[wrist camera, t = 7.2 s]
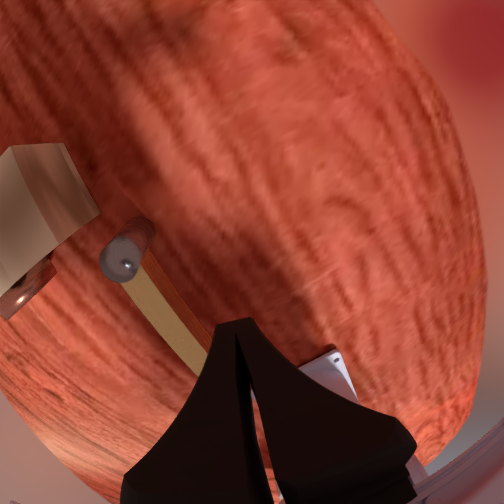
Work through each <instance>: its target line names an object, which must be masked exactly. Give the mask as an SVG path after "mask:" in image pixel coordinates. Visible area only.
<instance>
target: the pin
mask: <svg viewBox="0 0 504 504" xmlns="http://www.w3.org/2000/svg"><path fill="white" fill-rule="evenodd" d="M56 273H57V270H56V269H55V267H54V266H53V264H52V263H51V261H50V260H49V258H48V256H47V255H46V256H45V257H44V258H43V259H41V260H40V261H39V262H38V263H37V264H35V265H34V266H33V267H32V268H31V269H30V270H29V271H27V272H26V273H25V274H24V275H23V276H22V277H21V278H20V279H19V280H17V281H16V282H15V283H14V284H13V285H12V286H11V287H10V288H9V289H8V290H7V291H6V292H5V293H4V294H3V295H2V296H1V297H0V315H1V316H2V317H3V319H4V320H5V321H7V320H8V319H9V318H11V317H12V316H13V315H14V314H15V313H16V312H17V311H19V310H20V309H21V308H22V307H23V306H24V305H25V304H26V303H27V302H28V301H29V300H30V299H31V298H32V297H33V296H34V295H36V294H37V293H38V292H39V291H40V290H41V289H42V288H43V287H44V286H45V285H46V284H47V283H48V282H49V281H50V280H51V279H52V278H53V277H54V275H55V274H56Z"/></svg>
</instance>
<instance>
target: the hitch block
mask: <svg viewBox="0 0 504 504" xmlns="http://www.w3.org/2000/svg"><path fill="white" fill-rule="evenodd" d="M99 214H101V212H100V210H99V209H98V207H97V205H96V204H95V202H94V200H93V198H92V197H91V195H90V193H89V191H88V189H87V187H86V186H85V184H84V182H83V180H82V178H81V176H80V174H79V173H78V171H77V169H76V167H75V165H74V163H73V161H72V159H71V157H70V155H69V153H68V151H67V149H66V147H65V144H64V143H43V144H26V145H13V146H9V147H8V148H7V149H6V151H5V152H4V153H3V154H2V155H1V156H0V297H1V296H2V295H3V294H4V293H5V292H6V291H7V290H8V289H9V288H10V287H11V286H12V285H13V284H14V283H15V282H16V281H17V280H19V279H20V278H21V277H22V276H23V275H24V274H25V273H26V272H27V271H29V270H30V269H31V268H32V267H33V266H34V265H35V264H37V263H38V262H39V261H40V260H41V259H43V258H44V257H45V256H46V255H48V254H49V253H50V252H51V251H52V250H54V249H55V248H56V247H57V246H58V245H60V244H61V243H62V242H63V241H65V240H66V239H67V238H69V237H70V236H71V235H72V234H74V233H75V232H76V231H78V230H79V229H80V228H82V227H83V226H84V225H86V224H87V223H88V222H90V221H91V220H93V219H94V218H95V217H97V216H98V215H99Z"/></svg>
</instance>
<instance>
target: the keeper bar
mask: <svg viewBox="0 0 504 504" xmlns="http://www.w3.org/2000/svg"><path fill="white" fill-rule="evenodd" d="M154 237H155V228H154V226H153V224H152V223H151V222H150V221H149V220H148V219H146V218H144V217H136V218H133V219H132V220H130V221H129V222H128V223H127V224H126V225H125V226H124V228H123V229H122V230H121V231H120V232H119V233H118V234H117V235H116V236H115V237H114V238H113V239H112V240H111V241H110V242H109V244H108V245H107V246H106V247H105V248H104V249H103V250H102V252H101V254H100V257H99V264H100V268H101V270H102V272H103V274H104V275H105V276H106V277H107V278H108V279H110V280H111V281H114V282H117V283H120V284H121V285H122V287H123V288H124V289H125V291H126V292H127V293H128V295H129V296H130V297H131V299H132V300H133V301H134V303H135V304H136V305H137V307H138V308H139V309H140V310H141V312H142V313H143V314H144V315H145V317H146V318H147V319H148V321H149V322H150V323H151V324H152V325H153V327H154V328H155V329H156V330H157V332H158V333H159V334H160V335H161V336H162V337H163V339H164V340H165V341H166V342H167V343H168V344H169V346H170V347H171V348H172V349H173V350H174V351H175V352H176V354H177V355H178V356H179V357H180V358H181V359H182V360H183V361H184V362H185V364H186V365H187V366H188V367H189V368H190V369H191V370H192V371H193V372H194V373H195V374H196V375H197V376H198V377H199V375H200V373H201V371H202V368H203V366H204V363H205V360H206V358H207V355H208V352H209V349H210V346H211V343H212V338H211V336H210V335H209V334H208V333H207V331H206V330H205V329H204V327H203V326H202V325H201V323H200V322H199V321H198V319H197V318H196V317H195V315H194V314H193V312H192V311H191V310H190V308H189V307H188V306H187V304H186V303H185V301H184V300H183V299H182V297H181V296H180V294H179V293H178V292H177V290H176V289H175V287H174V286H173V284H172V283H171V282H170V280H169V279H168V277H167V276H166V274H165V273H164V271H163V270H162V268H161V267H160V265H159V264H158V262H157V261H156V259H155V258H154V256H153V255H152V253H151V252H150V250H149V247H150V245H151V243H152V242H153V240H154Z"/></svg>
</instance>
